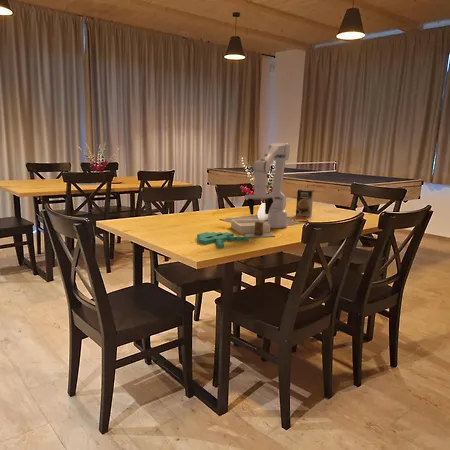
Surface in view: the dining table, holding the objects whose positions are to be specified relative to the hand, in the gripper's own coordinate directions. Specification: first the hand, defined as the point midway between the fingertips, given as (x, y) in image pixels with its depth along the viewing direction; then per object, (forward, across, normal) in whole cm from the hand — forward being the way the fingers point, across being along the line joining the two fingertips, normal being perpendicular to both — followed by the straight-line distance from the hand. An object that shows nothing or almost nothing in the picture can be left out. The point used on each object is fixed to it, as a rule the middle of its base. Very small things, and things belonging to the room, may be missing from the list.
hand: (259, 214), depth 198 cm
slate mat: (+10, 0, -1) cm, 10 cm away
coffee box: (+11, +47, +44) cm, 65 cm away
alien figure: (+11, -22, -7) cm, 26 cm away
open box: (+10, 0, +11) cm, 15 cm away
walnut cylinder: (+10, 0, -1) cm, 10 cm away
